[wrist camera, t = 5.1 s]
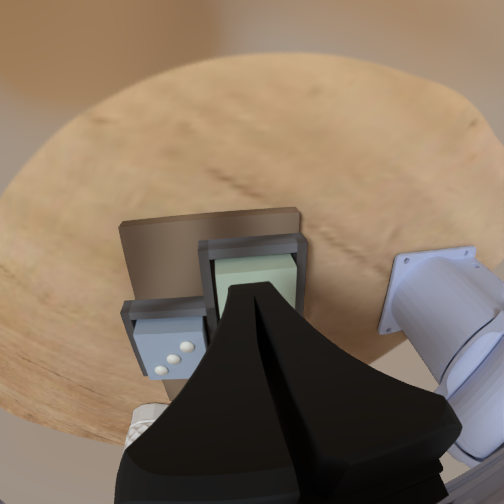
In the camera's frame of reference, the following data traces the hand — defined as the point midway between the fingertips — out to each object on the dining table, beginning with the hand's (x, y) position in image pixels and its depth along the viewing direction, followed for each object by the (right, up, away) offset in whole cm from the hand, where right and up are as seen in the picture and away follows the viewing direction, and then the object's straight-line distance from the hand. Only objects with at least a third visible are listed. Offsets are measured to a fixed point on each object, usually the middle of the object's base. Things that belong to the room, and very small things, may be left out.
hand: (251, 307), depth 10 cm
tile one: (0, 0, +10) cm, 10 cm away
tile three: (-5, -4, +11) cm, 13 cm away
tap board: (-2, -3, +13) cm, 13 cm away
